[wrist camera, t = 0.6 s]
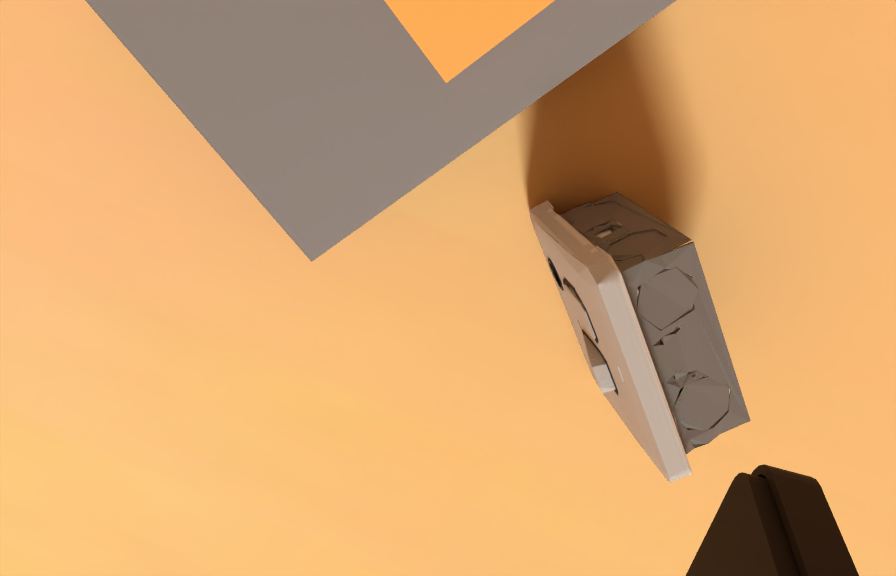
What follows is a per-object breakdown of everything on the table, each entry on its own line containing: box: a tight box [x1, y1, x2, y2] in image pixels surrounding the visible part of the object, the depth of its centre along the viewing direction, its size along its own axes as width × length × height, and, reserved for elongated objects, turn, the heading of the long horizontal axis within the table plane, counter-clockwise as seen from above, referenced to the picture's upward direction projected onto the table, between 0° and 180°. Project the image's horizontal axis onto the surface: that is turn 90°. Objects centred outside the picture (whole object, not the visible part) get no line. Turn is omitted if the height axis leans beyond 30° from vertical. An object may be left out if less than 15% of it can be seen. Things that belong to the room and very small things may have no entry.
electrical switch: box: [530, 192, 750, 482], centre depth 33 cm, size 9×5×9 cm, turn 23°
